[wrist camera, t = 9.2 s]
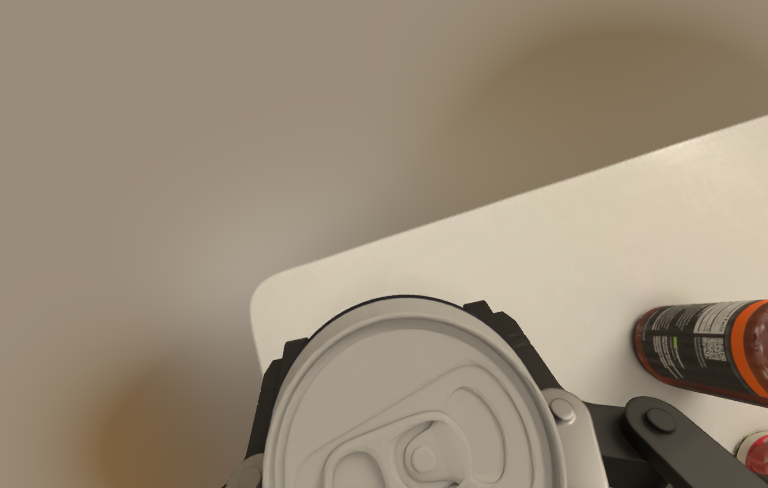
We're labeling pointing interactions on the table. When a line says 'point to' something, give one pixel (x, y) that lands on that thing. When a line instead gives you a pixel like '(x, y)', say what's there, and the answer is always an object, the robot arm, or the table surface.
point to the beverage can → (410, 405)
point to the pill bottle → (755, 454)
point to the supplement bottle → (709, 348)
